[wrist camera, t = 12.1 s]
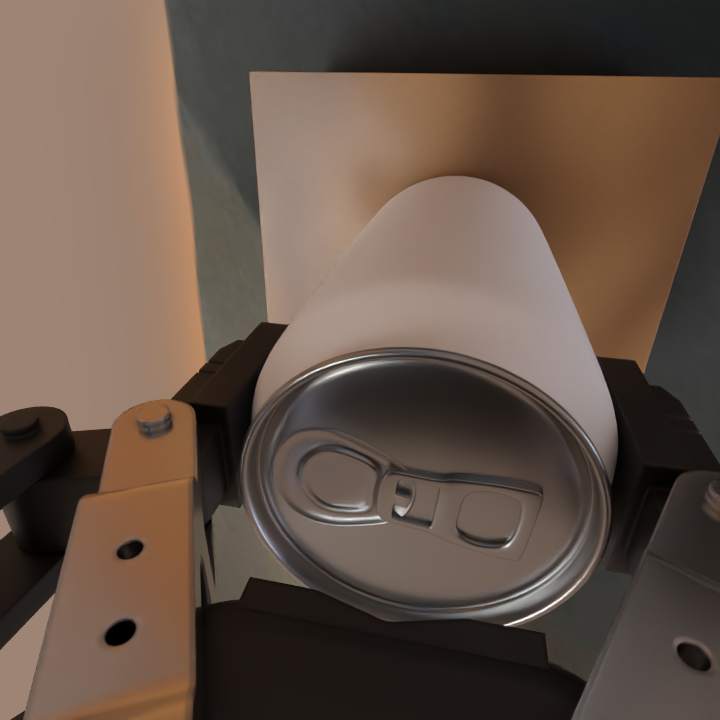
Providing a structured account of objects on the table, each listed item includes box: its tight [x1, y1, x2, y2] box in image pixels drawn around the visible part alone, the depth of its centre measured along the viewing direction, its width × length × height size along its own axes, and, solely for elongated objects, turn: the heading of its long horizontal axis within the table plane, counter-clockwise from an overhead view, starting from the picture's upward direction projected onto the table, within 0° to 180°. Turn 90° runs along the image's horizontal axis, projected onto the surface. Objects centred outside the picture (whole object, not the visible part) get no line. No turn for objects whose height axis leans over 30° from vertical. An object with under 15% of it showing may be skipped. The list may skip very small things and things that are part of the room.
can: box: [239, 176, 618, 627], centre depth 13 cm, size 6×6×12 cm
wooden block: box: [249, 71, 720, 374], centre depth 22 cm, size 14×12×8 cm
